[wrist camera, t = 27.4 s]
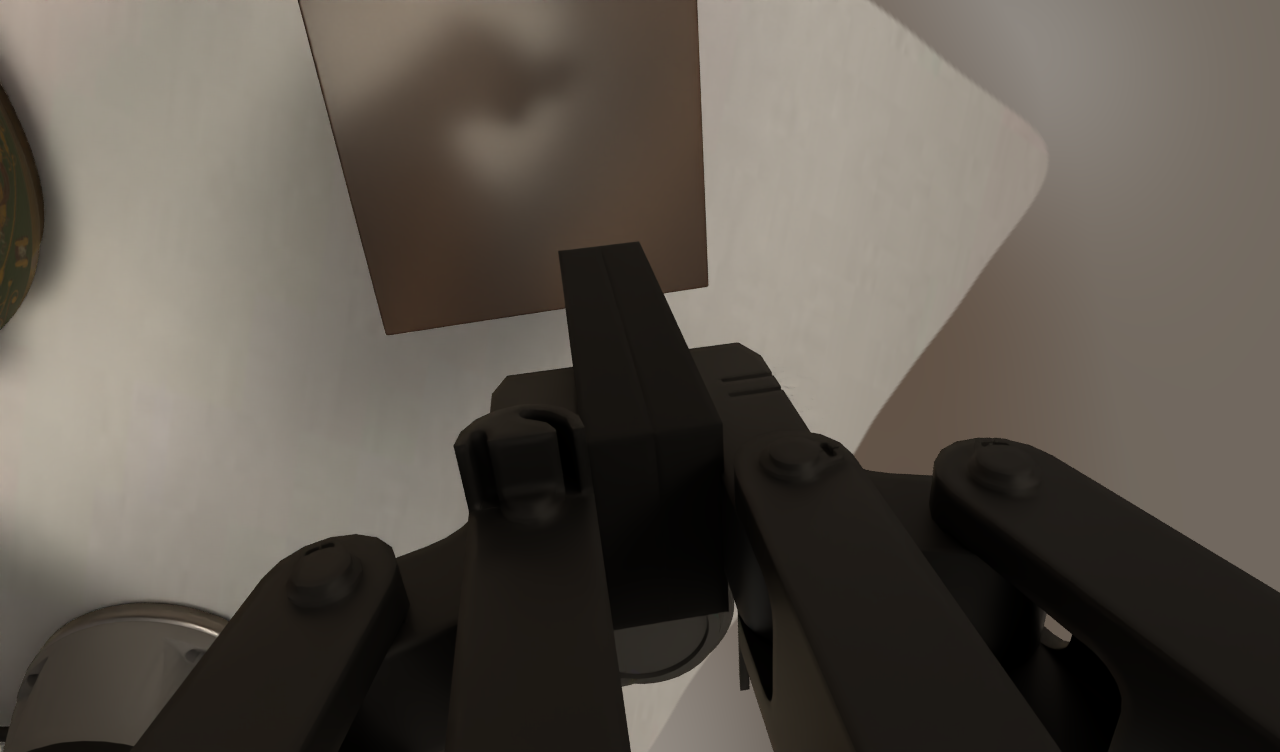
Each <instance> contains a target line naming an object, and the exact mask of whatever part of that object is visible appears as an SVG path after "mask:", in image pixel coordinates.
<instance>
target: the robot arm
mask: <svg viewBox="0 0 1280 752" xmlns="http://www.w3.org/2000/svg"><path fill="white" fill-rule="evenodd" d="M558 254H559V262H560V270H561V277H562V285H563V293H564V301H565V308H566V316H567V324H568V332H569V339H570V347H571V355H572V363H573V367H569V368H561V369H554V370H546V371H539V372H531V373H524V374H516V375H509V376H506V378H505V379H504V380H503V381H502V382H501V384H500V385H499V386H498V387H497V389H496V390H495V391H494V392H493V393H492V398H491V410H490V413H489V414H487V415H485V416H482V417H480V418H478V419H476V420H475V421H473V422H472V423H471V424H470V425H469V426H467V427H466V428H465V429H464V430H462V431H461V432H460V434H459V436H458V438H457V440H456V442H455V444H454V450H455V454H456V458H457V462H458V467H459V471H460V475H461V479H462V484H463V488H464V492H465V497H466V501H467V505H468V509H469V517H468V522H467V523H466V524H465V525H464V526H463V527H462V528H460V529H459V530H457V531H456V532H454V533H453V534H451V535H449V536H448V537H446V538H445V539H442V540H440V541H438V542H436V543H434V544H431V545H429V546H427V547H424V548H421V549H419V550H416V551H413V552H411V553H408V554H405V555H403V556H400V557H397V558H396V557H395V555H394V552H393V549H392V547H391V546H389V545H388V544H386V543H385V542H383V541H382V540H380V539H379V538H377V537H371V536H365V535H358V534H353V535H345V536H337V537H330V538H327V539H324V540H321V541H319V542H315V543H313V544H310V545H307V546H304V547H303V548H301V549H299V550H298V551H296V552H294V553H293V554H291V555H289V556H288V557H286V558H284V559H283V560H281V561H280V562H279V563H278V564H277V565H276V566H275V567H273V568H272V569H271V570H270V571H269V572H268V573H267V574H266V575H265V576H264V577H263V578H262V579H261V581H260V582H259V583H258V584H257V586H256V587H255V588H254V590H253V591H252V592H251V594H250V595H249V596H248V598H247V599H246V600H245V601H244V603H243V604H242V605H241V607H240V608H239V609H238V611H237V612H236V613H235V615H234V616H233V617H232V618H231V620H230V621H227V620H225V619H223V618H221V617H218V616H216V615H213V614H210V613H207V612H204V611H201V610H197V609H193V608H189V607H184V606H178V605H172V604H161V603H131V604H123V605H116V606H111V607H106V608H102V609H99V610H95V611H92V612H90V613H87V614H84V615H82V616H80V617H78V618H76V619H74V620H72V621H70V622H69V623H67V624H65V625H64V626H63V627H61V628H60V629H59V630H57V631H56V632H55V633H54V634H53V635H52V636H51V637H50V638H49V639H48V641H47V642H46V643H45V644H44V646H43V647H42V649H41V650H40V651H39V653H38V654H37V655H36V657H35V658H34V659H33V661H32V662H31V664H30V665H29V667H28V669H27V671H26V673H25V676H24V678H23V680H22V683H21V685H20V689H19V692H18V696H17V703H16V706H15V709H14V712H13V715H12V719H11V723H10V726H0V742H5V746H4V750H3V752H631V749H630V742H629V735H628V728H627V721H626V714H625V707H624V700H623V693H622V686H621V679H620V672H619V665H618V658H617V651H616V644H615V637H614V630H619V629H625V628H631V627H637V626H643V625H649V624H656V623H662V622H668V621H674V620H680V619H686V618H692V617H698V616H704V615H710V614H717V613H723V612H729V596H728V583H729V586H730V589H731V592H732V595H733V598H734V601H735V604H736V606H737V609H738V642H739V677H740V690H748V689H749V677H750V680H751V683H752V686H753V689H754V692H755V695H756V699H757V702H758V705H759V708H760V711H761V714H762V717H763V720H764V723H765V726H766V729H767V732H768V736H769V739H770V742H771V745H772V748H773V751H774V752H1280V593H1279V592H1278V591H1276V590H1274V589H1273V588H1271V587H1269V586H1268V585H1266V584H1264V583H1263V582H1261V581H1260V580H1258V579H1256V578H1255V577H1253V576H1251V575H1250V574H1248V573H1246V572H1245V571H1243V570H1241V569H1239V568H1238V567H1236V566H1235V565H1233V564H1231V563H1229V562H1228V561H1226V560H1225V559H1223V558H1221V557H1220V556H1218V555H1216V554H1215V553H1213V552H1211V551H1210V550H1208V549H1207V548H1205V547H1203V546H1201V545H1200V544H1198V543H1196V542H1195V541H1193V540H1191V539H1190V538H1188V537H1187V536H1185V535H1183V534H1182V533H1180V532H1178V531H1177V530H1175V529H1173V528H1172V527H1170V526H1168V525H1167V524H1165V523H1163V522H1162V521H1160V520H1158V519H1157V518H1155V517H1154V516H1152V515H1150V514H1148V513H1147V512H1145V511H1144V510H1142V509H1140V508H1139V507H1137V506H1135V505H1133V504H1132V503H1130V502H1129V501H1127V500H1125V499H1124V498H1122V497H1120V496H1119V495H1117V494H1115V493H1114V492H1112V491H1110V490H1109V489H1107V488H1106V487H1104V486H1102V485H1101V484H1099V483H1097V482H1096V481H1094V480H1092V479H1091V478H1089V477H1087V476H1086V475H1084V474H1082V473H1080V472H1079V471H1077V470H1076V469H1074V468H1072V467H1071V466H1069V465H1067V464H1066V463H1064V462H1062V461H1061V460H1059V459H1057V458H1055V457H1054V456H1053V455H1050V454H1048V453H1046V452H1044V451H1042V450H1039V449H1037V448H1035V447H1033V446H1030V445H1027V444H1023V443H1019V442H1015V441H1010V440H1007V439H1001V438H974V439H969V440H963V441H957V442H955V443H953V444H951V445H949V446H947V447H946V448H944V449H942V450H941V451H940V453H939V454H938V457H937V458H936V460H935V461H934V467H933V475H932V476H929V475H911V474H892V473H883V472H875V471H869V470H865V469H863V468H862V467H861V465H860V464H859V462H858V461H857V460H856V458H855V457H854V455H853V454H852V453H851V452H850V451H849V450H848V449H846V448H845V447H844V446H843V445H842V444H841V443H840V442H837V441H835V440H833V439H831V438H828V437H826V436H824V435H821V434H816V433H811V432H810V431H809V429H808V428H807V426H806V424H805V423H804V421H803V420H802V418H801V417H800V415H799V414H798V412H797V411H796V409H795V408H794V406H793V404H792V403H791V401H790V400H789V398H788V397H787V395H786V394H785V392H784V391H783V390H781V386H780V384H779V383H778V381H777V380H776V378H775V377H774V376H772V372H771V370H770V369H769V367H768V366H767V364H766V363H765V361H764V360H763V358H762V357H761V355H759V354H758V353H756V352H754V351H752V350H750V349H749V348H747V347H745V346H743V345H742V344H740V343H730V344H723V345H715V346H708V347H700V348H693V349H688V346H687V344H686V342H685V340H684V338H683V335H682V333H681V331H680V329H679V327H678V325H677V322H676V320H675V318H674V316H673V314H672V311H671V309H670V307H669V305H668V303H667V301H666V298H665V296H664V294H663V292H662V290H661V287H660V285H659V283H658V281H657V279H656V277H655V274H654V272H653V270H652V268H651V266H650V263H649V261H648V259H647V257H646V255H645V253H644V250H643V248H642V246H641V244H640V242H639V241H637V242H629V243H620V244H612V245H604V246H595V247H587V248H579V249H571V250H562V251H558ZM1046 614H1048V615H1050V616H1051V617H1052V618H1053V619H1054V620H1056V621H1057V622H1058V623H1059V624H1060V625H1062V626H1063V627H1064V628H1065V629H1067V630H1068V631H1069V632H1070V633H1071V634H1072V637H1071V641H1070V642H1067V641H1063V640H1062V639H1060V638H1059V637H1057V636H1056V635H1054V634H1053V633H1052V632H1050V631H1049V630H1048V629H1047V628H1046V627H1044V622H1045V618H1046Z"/></svg>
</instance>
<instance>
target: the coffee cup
mask: <svg viewBox="0 0 1280 752" xmlns="http://www.w3.org/2000/svg"><path fill="white" fill-rule="evenodd" d="M728 596H729V612H723V613H717V614H710V615H704V616H698V617H692V618H686V619H680V620H674V621H668V622H662V623H656V624H649V625H643V626H637V627H631V628H625V629H619V630H614V637H615V644H616V651H617V658H618V665H619V672H620V679H621V686H627V685H631V684H647V683H656V682H662V681H666V680H670V679H673V678H675V677H678V676H680V675H682V674H684V673H686V672H688V671H690V670H691V669H693V668H694V667H696V666H697V665H698V664H700V663H701V662H702V661H703V660H704V659H705V658H706V657H707V656H708V655H709V653H711V652H712V651H713V650H714V649H715V648H716V646H717V645H718V644H719V643H720V641H721V640H722V639H723V637H724V636H725V634H726V632H727V630H728V628H729V626H730V624H731V621H732V617H733V612H734V598H733V595H732V592H731V589H730V586H729V583H728Z"/></svg>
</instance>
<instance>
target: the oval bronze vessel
mask: <svg viewBox="0 0 1280 752" xmlns="http://www.w3.org/2000/svg"><path fill="white" fill-rule="evenodd" d="M43 230H44V200H43V194H42V187H41V183H40V178H39V175H38V171H37V167H36V164H35V160H34V157H33V154H32V151H31V148H30V145H29V143H28V141H27V138H26V135H25V132H24V130H23V128H22V126H21V123H20V121H19V119H18V117H17V115H16V112H15V110H14V108H13V106H12V104H11V102H10V100H9V98H8V96H7V94H6V93H5V91H4V89H3V87H2V86H1V84H0V330H1V329H2V328H3V327H4V326H5V325H6V324H7V322H8V321H9V320H10V319H11V318H12V316H13V315H14V314H15V313H16V311H17V310H18V308H19V307H20V305H21V304H22V302H23V300H24V298H25V297H26V295H27V293H28V291H29V289H30V286H31V284H32V281H33V278H34V275H35V271H36V268H37V263H38V258H39V249H40V243H41V240H42V237H43Z"/></svg>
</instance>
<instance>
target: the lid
mask: <svg viewBox="0 0 1280 752" xmlns="http://www.w3.org/2000/svg"><path fill="white" fill-rule="evenodd" d="M298 3H299V7H300V11H301V15H302V18H303V22H304V26H305V30H306V34H307V37H308V41H309V45H310V49H311V53H312V56H313V60H314V64H315V68H316V72H317V75H318V79H319V83H320V87H321V91H322V94H323V98H324V102H325V106H326V110H327V113H328V117H329V121H330V125H331V129H332V132H333V136H334V140H335V144H336V148H337V151H338V155H339V159H340V163H341V167H342V170H343V174H344V178H345V182H346V186H347V189H348V193H349V197H350V201H351V204H352V208H353V212H354V216H355V220H356V223H357V227H358V231H359V235H360V239H361V242H362V246H363V250H364V254H365V258H366V261H367V265H368V269H369V273H370V277H371V280H372V284H373V288H374V292H375V296H376V299H377V303H378V307H379V311H380V315H381V318H382V322H383V326H384V330H385V334H386V335H394V334H400V333H407V332H414V331H420V330H427V329H433V328H440V327H446V326H453V325H459V324H466V323H473V322H479V321H486V320H492V319H499V318H505V317H512V316H518V315H525V314H532V313H538V312H545V311H551V310H558V309H564V308H565V301H564V293H563V285H562V277H561V270H560V262H559V254H558V251H562V250H571V249H579V248H587V247H595V246H604V245H612V244H620V243H629V242H637V241H639V242H640V244H641V246H642V248H643V250H644V253H645V255H646V257H647V259H648V261H649V263H650V266H651V268H652V270H653V272H654V274H655V277H656V279H657V281H658V283H659V285H660V287H661V290H662V292H663V293H669V292H676V291H682V290H689V289H696V288H702V287H707V286H708V262H707V237H706V212H705V187H704V162H703V137H702V112H701V86H700V61H699V36H698V11H697V0H298Z"/></svg>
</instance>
